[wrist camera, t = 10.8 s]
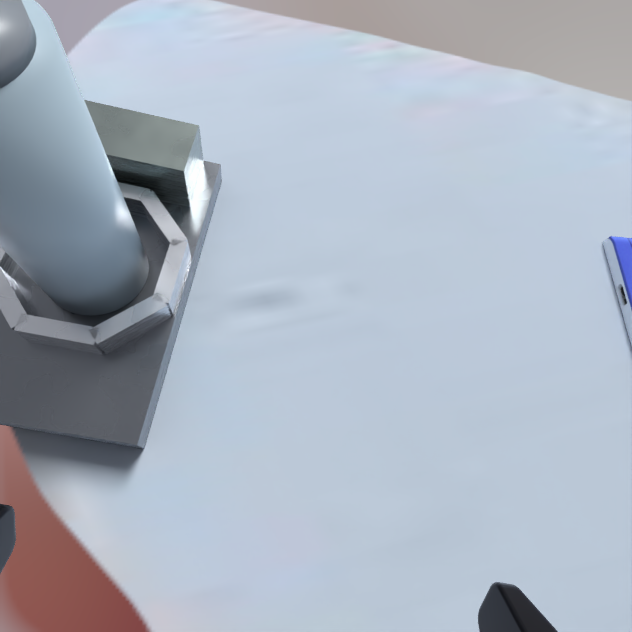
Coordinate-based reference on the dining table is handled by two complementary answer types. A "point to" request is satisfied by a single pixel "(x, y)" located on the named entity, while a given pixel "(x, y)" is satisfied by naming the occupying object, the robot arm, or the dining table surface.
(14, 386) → the motor mount
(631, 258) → the hard drive
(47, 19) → the grey capped canister
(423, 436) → the dining table surface
